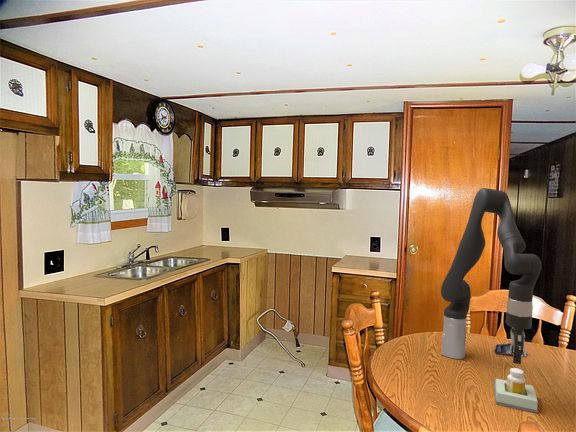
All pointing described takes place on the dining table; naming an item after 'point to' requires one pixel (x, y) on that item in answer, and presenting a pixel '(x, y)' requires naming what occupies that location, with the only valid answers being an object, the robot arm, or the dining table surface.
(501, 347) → the snack package
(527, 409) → the socket board
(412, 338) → the dining table surface
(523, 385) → the supplement bottle
